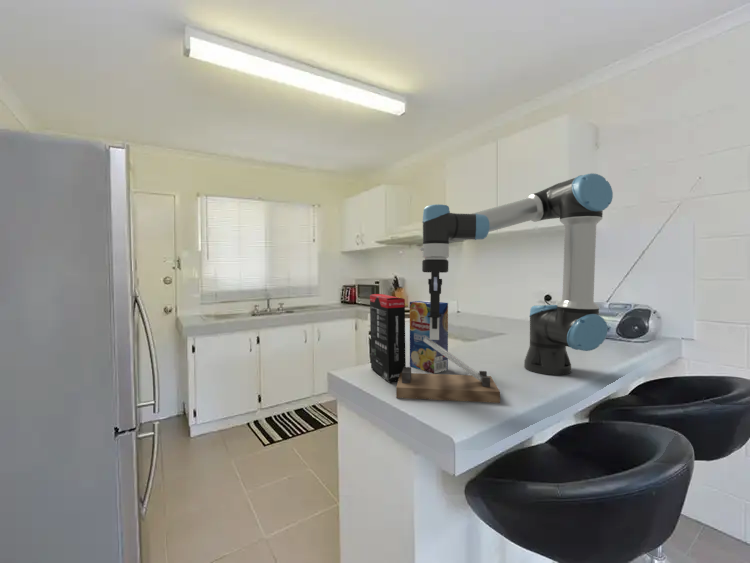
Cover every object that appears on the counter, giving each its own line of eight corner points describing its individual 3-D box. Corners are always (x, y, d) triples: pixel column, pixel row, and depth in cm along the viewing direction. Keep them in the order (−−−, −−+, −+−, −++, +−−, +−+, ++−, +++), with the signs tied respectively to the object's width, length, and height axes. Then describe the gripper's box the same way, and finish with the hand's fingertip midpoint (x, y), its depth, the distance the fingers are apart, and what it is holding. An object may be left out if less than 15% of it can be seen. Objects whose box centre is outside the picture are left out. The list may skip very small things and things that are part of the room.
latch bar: (483, 381, 105) (486, 378, 104) (486, 385, 101) (488, 382, 100) (423, 338, 107) (425, 335, 107) (423, 341, 103) (425, 338, 103)
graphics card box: (407, 381, 114) (407, 296, 113) (387, 383, 112) (387, 297, 111) (386, 367, 130) (386, 293, 129) (369, 369, 128) (368, 294, 127)
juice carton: (448, 369, 126) (448, 302, 125) (433, 373, 122) (433, 304, 121) (423, 362, 136) (423, 300, 135) (409, 366, 131) (409, 301, 130)
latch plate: (490, 385, 109) (490, 366, 109) (500, 402, 95) (500, 380, 95) (400, 381, 113) (400, 363, 113) (396, 397, 99) (396, 376, 99)
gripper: (422, 259, 110) (421, 334, 111) (422, 258, 97) (421, 343, 98) (447, 259, 109) (446, 335, 110) (449, 258, 96) (448, 344, 97)
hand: (434, 339), depth 104 cm, fingers closed
